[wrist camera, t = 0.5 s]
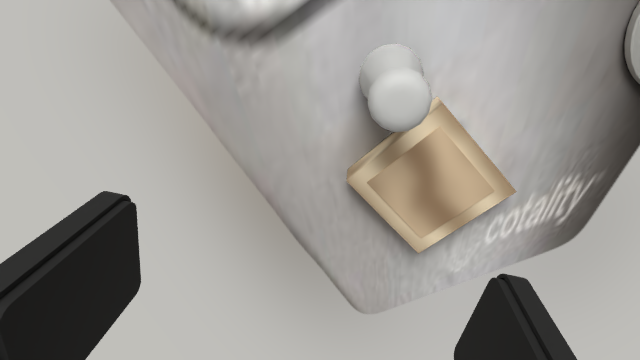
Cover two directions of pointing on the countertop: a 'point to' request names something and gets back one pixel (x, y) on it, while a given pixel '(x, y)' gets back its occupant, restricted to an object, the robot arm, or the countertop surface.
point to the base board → (429, 179)
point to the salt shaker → (395, 87)
